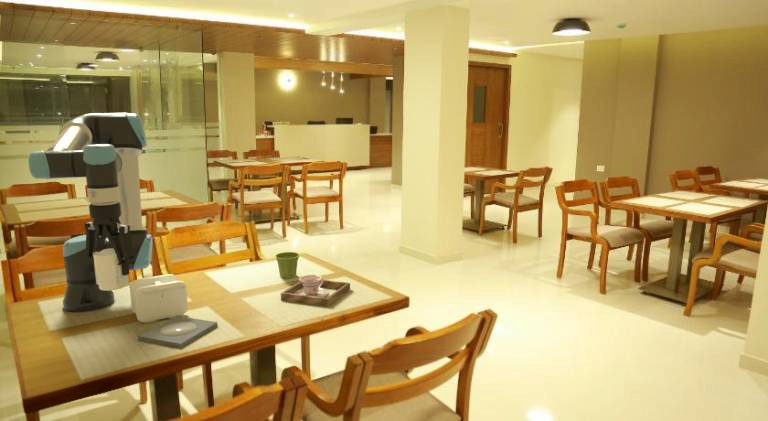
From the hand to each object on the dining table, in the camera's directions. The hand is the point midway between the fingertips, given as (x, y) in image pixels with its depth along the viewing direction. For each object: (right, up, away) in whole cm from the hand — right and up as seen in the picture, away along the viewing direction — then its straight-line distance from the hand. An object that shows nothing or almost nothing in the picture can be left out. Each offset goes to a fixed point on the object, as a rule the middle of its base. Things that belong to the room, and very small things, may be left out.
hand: (112, 284), depth 147 cm
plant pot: (+37, -6, +62) cm, 73 cm away
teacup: (+49, -10, +42) cm, 65 cm away
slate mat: (+14, -16, +10) cm, 23 cm away
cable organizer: (+3, -13, +23) cm, 27 cm away
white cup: (0, -1, 0) cm, 1 cm away
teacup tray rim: (+51, -9, +42) cm, 66 cm away
